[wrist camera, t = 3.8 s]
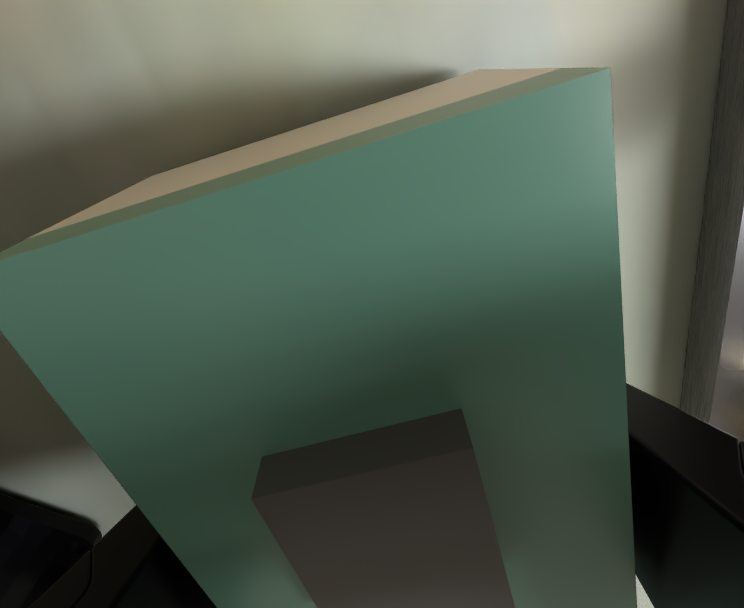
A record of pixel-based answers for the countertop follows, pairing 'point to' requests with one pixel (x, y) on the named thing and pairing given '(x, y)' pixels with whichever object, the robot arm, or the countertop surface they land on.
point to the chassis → (721, 256)
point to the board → (362, 352)
